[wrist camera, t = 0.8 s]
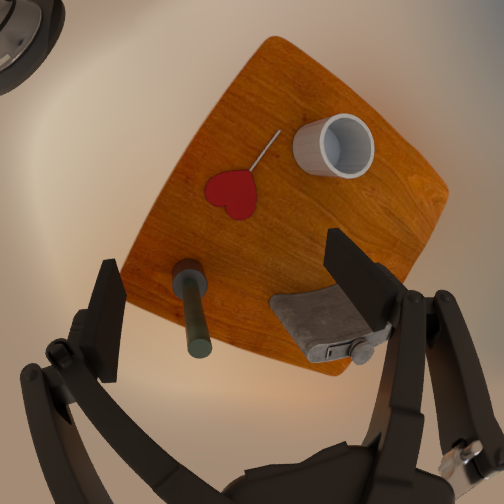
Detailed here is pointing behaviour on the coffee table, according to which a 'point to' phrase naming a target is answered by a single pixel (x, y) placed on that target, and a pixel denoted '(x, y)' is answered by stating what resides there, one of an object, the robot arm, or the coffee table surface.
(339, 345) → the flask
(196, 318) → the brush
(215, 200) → the lollipop
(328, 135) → the canister
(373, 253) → the coffee table surface
